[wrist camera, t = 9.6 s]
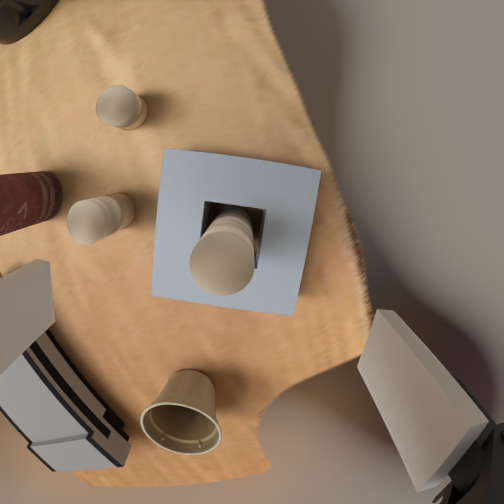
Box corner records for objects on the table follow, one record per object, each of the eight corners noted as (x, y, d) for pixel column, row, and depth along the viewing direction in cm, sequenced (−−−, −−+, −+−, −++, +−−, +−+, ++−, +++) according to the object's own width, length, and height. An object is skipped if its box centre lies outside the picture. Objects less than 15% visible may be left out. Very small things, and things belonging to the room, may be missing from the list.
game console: (14, 262, 33) (-23, 281, 25) (137, 430, 41) (123, 466, 33) (-33, 312, 36) (-60, 330, 28) (67, 444, 43) (52, 471, 35)
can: (67, 173, 30) (-15, 181, 17) (59, 225, 32) (-19, 254, 18) (33, 165, 30) (-47, 171, 16) (26, 213, 31) (-50, 237, 18)
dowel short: (121, 93, 28) (103, 82, 23) (153, 99, 29) (139, 88, 24) (110, 126, 29) (90, 120, 24) (141, 133, 30) (125, 127, 25)
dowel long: (217, 204, 32) (193, 228, 18) (255, 210, 32) (259, 238, 18) (212, 241, 33) (186, 290, 19) (249, 247, 33) (249, 300, 19)
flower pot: (163, 407, 39) (149, 450, 30) (152, 356, 36) (131, 398, 28) (227, 411, 39) (224, 457, 30) (224, 359, 36) (218, 405, 28)
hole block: (177, 151, 30) (164, 148, 25) (310, 170, 31) (321, 170, 26) (164, 278, 34) (151, 295, 29) (287, 296, 34) (293, 315, 29)
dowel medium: (105, 191, 31) (67, 198, 23) (136, 194, 31) (104, 202, 23) (102, 226, 32) (66, 241, 24) (133, 230, 32) (102, 247, 24)
